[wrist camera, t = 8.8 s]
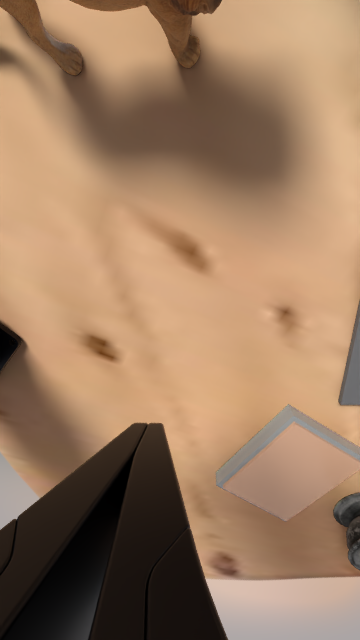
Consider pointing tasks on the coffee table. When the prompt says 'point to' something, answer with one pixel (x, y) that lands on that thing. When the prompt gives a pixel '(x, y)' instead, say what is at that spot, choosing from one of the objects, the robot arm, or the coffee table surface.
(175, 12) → the lion figurine
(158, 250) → the coffee table surface
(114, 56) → the coffee table surface
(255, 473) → the tile
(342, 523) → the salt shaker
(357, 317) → the mat
